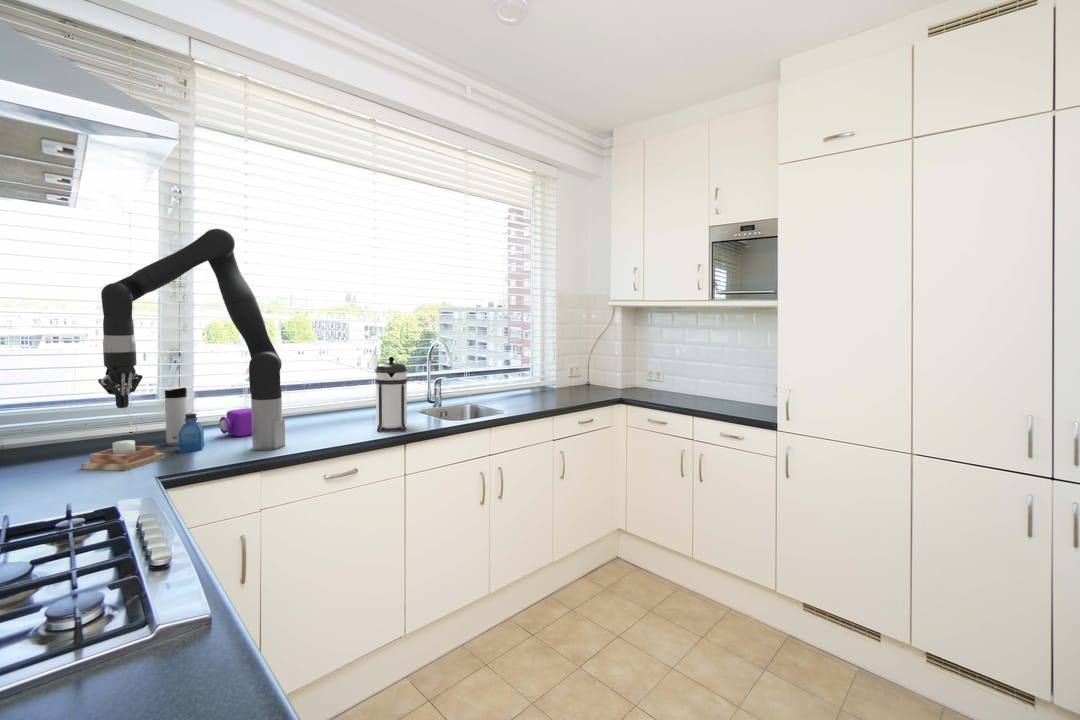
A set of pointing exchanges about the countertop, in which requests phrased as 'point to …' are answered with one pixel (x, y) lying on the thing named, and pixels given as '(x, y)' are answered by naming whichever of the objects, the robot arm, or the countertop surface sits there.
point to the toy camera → (237, 422)
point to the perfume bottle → (191, 435)
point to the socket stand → (122, 459)
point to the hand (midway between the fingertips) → (122, 407)
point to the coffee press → (391, 395)
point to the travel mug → (175, 414)
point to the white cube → (124, 447)
